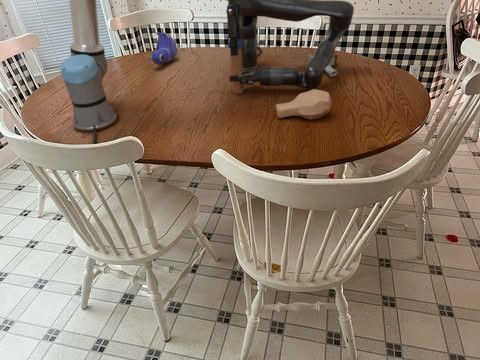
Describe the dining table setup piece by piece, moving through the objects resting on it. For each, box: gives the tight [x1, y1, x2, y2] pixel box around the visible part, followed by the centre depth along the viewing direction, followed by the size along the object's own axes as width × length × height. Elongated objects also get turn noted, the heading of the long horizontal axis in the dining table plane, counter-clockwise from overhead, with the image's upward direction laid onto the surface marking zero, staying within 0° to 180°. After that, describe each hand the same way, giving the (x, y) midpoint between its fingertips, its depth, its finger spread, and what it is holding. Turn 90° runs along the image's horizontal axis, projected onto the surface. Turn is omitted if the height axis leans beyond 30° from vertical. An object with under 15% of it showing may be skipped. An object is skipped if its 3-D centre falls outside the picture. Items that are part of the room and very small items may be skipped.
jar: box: [229, 48, 245, 95], centre depth 144 cm, size 5×5×20 cm
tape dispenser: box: [308, 51, 338, 78], centre depth 165 cm, size 18×5×20 cm
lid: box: [227, 39, 243, 49], centre depth 139 cm, size 6×6×2 cm
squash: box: [274, 88, 332, 120], centre depth 126 cm, size 11×20×9 cm, turn 92°
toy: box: [150, 31, 178, 69], centre depth 181 cm, size 10×17×25 cm
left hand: (235, 52), depth 141 cm, fingers closed on lid, 6 cm apart
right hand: (231, 76), depth 147 cm, fingers closed on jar, 4 cm apart
